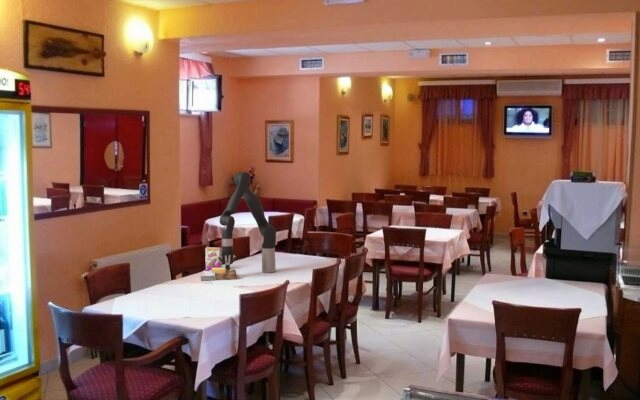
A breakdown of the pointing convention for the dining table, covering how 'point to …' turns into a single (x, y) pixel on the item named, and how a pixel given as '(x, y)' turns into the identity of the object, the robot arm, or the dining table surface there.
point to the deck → (226, 275)
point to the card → (218, 270)
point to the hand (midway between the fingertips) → (227, 270)
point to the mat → (207, 278)
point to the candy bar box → (212, 258)
